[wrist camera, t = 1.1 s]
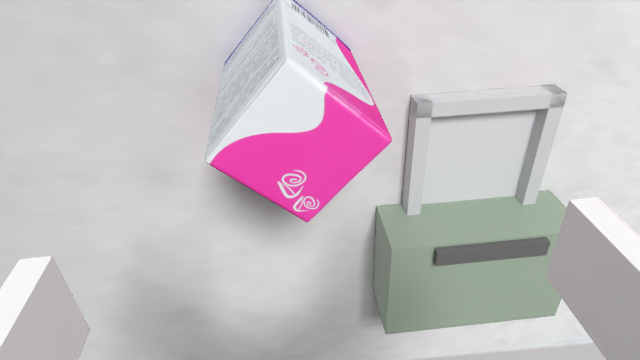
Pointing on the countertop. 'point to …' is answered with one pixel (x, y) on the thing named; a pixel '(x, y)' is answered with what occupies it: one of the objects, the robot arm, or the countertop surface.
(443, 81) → the countertop surface
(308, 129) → the supplement box
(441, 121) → the sliding drawer box
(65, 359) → the robot arm
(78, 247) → the countertop surface
